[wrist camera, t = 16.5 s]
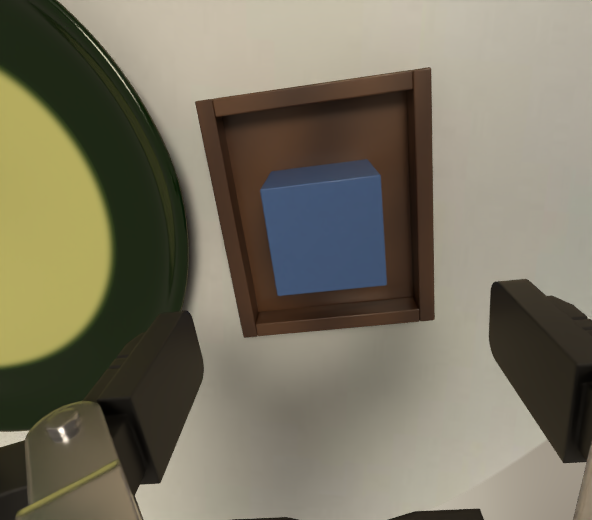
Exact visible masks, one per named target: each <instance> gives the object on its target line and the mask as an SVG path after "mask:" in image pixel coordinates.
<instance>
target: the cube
mask: <svg viewBox="0 0 592 520" xmlns="http://www.w3.org/2000/svg"><path fill="white" fill-rule="evenodd" d="M260 194H261V200H262V206H263V212H264V218H265V224H266V230H267V236H268V242H269V248H270V254H271V260H272V266H273V272H274V278H275V284H276V290H277V295H278V296H284V295H294V294H304V293H314V292H324V291H334V290H344V289H354V288H364V287H374V286H385V285H387V275H386V257H385V240H384V223H383V206H382V189H381V175H380V174H379V173H378V171H377V170H376V169H375V168H374V167H373V165H372V164H371V163H370V162H369V160H368V159H365V160H357V161H349V162H341V163H333V164H325V165H318V166H310V167H302V168H294V169H286V170H278V171H272V172H271V173H270V174H269V176H268V178H267V179H266V181H265V183H264V184H263V186H262V188H261V189H260Z"/></svg>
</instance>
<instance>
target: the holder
mask: <svg viewBox="0 0 592 520" xmlns="http://www.w3.org/2000/svg"><path fill="white" fill-rule="evenodd" d="M195 104H196V109H197V113H198V118H199V123H200V128H201V133H202V138H203V142H204V147H205V152H206V157H207V162H208V167H209V171H210V176H211V181H212V186H213V191H214V196H215V201H216V205H217V210H218V215H219V220H220V225H221V230H222V234H223V239H224V244H225V249H226V254H227V259H228V263H229V268H230V273H231V278H232V283H233V288H234V292H235V297H236V302H237V307H238V312H239V317H240V322H241V326H242V331H243V336H244V338H245V337H256V336H265V335H276V334H287V333H298V332H309V331H320V330H331V329H342V328H353V327H364V326H375V325H386V324H397V323H408V322H419V320H420V321H429V320H434V319H435V313H434V239H433V165H432V91H431V68H429V67H428V68H422V69H415V70H408V71H401V72H394V73H387V74H380V75H373V76H367V77H360V78H353V79H346V80H339V81H332V82H325V83H318V84H312V85H305V86H298V87H291V88H284V89H277V90H270V91H263V92H257V93H250V94H243V95H236V96H229V97H222V98H215V99H208V100H201V101H196V102H195ZM365 159H368V160H369V162H370V163H371V164H372V165H373V167H374V168H375V169H376V170H377V171H378V173H379V174H380V175H381V189H382V206H383V223H384V240H385V257H386V275H387V285H385V286H374V287H364V288H354V289H344V290H334V291H324V292H314V293H304V294H294V295H284V296H278V295H277V290H276V284H275V278H274V272H273V266H272V260H271V254H270V248H269V242H268V236H267V230H266V224H265V218H264V212H263V206H262V200H261V194H260V189H261V188H262V186H263V184H264V183H265V181H266V179H267V178H268V176H269V174H270V173H271V172H272V171H278V170H286V169H294V168H302V167H310V166H318V165H325V164H333V163H341V162H349V161H357V160H365Z"/></svg>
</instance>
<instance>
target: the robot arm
mask: <svg viewBox="0 0 592 520" xmlns="http://www.w3.org/2000/svg"><path fill="white" fill-rule="evenodd" d="M489 342H490V348H491V351H492V354H493V357H494V359H495V360H496V362H497V363H498V365H499V367H500V368H501V370H502V371H503V373H504V374H505V376H506V377H507V379H508V380H509V382H510V383H511V385H512V386H513V388H514V389H515V391H516V392H517V394H518V395H519V397H520V398H521V400H522V401H523V403H524V404H525V406H526V407H527V409H528V410H529V412H530V413H531V415H532V416H533V418H534V419H535V421H536V422H537V424H538V425H539V427H540V428H541V430H542V431H543V433H544V434H545V436H546V437H547V439H548V440H549V442H550V443H551V445H552V446H553V448H554V449H555V451H556V452H557V454H558V456H559V457H560V458H561V460H562V461H563V463H574V462H575V463H577V462H587V463H586V467H585V471H584V476H583V480H582V484H581V488H580V493H579V497H578V501H577V505H576V509H575V514H574V518H573V520H592V320H591V319H587V316H586V315H585V314H583V313H582V312H581V311H580V310H578V309H577V308H576V307H575V306H574V305H572V304H570V303H567V302H565V301H563V300H561V299H558V298H556V297H554V296H546V295H545V294H544V293H542V292H541V291H540V290H539V289H538V288H537V287H536V286H534V285H533V284H532V283H531V282H530V281H529V280H527V279H519V280H509V281H498V282H494V283H493V284H492V287H491V296H490V320H489ZM203 373H204V365H203V358H202V354H201V350H200V346H199V342H198V338H197V334H196V330H195V327H194V323H193V319H192V316H191V314H190V313H189V312H188V311H179V312H169V313H160V314H159V315H158V316H157V317H156V319H155V320H154V321H153V323H152V324H151V326H150V327H149V328H148V330H147V331H146V332H143V333H141V334H139V335H138V336H137V337H135V338H134V339H133V340H131V341H130V342H128V343H127V344H126V345H125V347H124V348H123V349H122V350H121V352H120V353H119V354H118V356H117V359H114V361H113V362H112V363H111V365H110V366H109V369H107V370H106V371H105V372H104V374H103V375H102V376H101V378H100V379H99V380H98V381H97V383H96V384H95V385H94V387H93V388H92V389H91V390H90V392H89V393H88V394H87V396H86V397H85V398H84V399H83V401H81V402H75V403H71V404H68V405H65V406H63V407H60V408H58V409H56V410H54V411H52V412H51V413H49V414H47V415H46V416H45V417H43V418H42V419H41V420H39V421H38V422H37V423H36V424H35V425H34V426H33V427H32V428H31V429H30V431H29V432H28V434H27V436H26V438H25V440H24V441H21V442H17V443H14V444H11V445H7V446H4V447H0V520H143V517H142V514H141V511H140V509H139V506H138V503H137V501H136V498H135V494H136V492H137V489H138V487H139V485H140V484H157V483H161V480H162V478H163V475H164V473H165V470H166V468H167V466H168V463H169V461H170V458H171V456H172V453H173V451H174V449H175V446H176V444H177V441H178V439H179V436H180V434H181V431H182V429H183V427H184V424H185V422H186V419H187V417H188V414H189V412H190V409H191V407H192V405H193V402H194V400H195V397H196V395H197V392H198V390H199V388H200V385H201V383H202V379H203ZM234 520H297V519H293V518H288V517H280V518H257V519H234ZM389 520H484V519H483V516H482V514H481V511H480V509H463V510H462V509H460V510H439V511H415V512H412V513H408V514H405V515H402V516H399V517H395V518H392V519H389Z"/></svg>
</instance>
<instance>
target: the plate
mask: <svg viewBox="0 0 592 520" xmlns="http://www.w3.org/2000/svg"><path fill="white" fill-rule="evenodd" d="M188 257H189V254H188V230H187V220H186V213H185V207H184V202H183V197H182V192H181V188H180V185H179V181H178V178H177V175H176V172H175V169H174V166H173V163H172V161H171V158H170V156H169V153H168V151H167V149H166V146H165V144H164V142H163V140H162V138H161V136H160V134H159V132H158V130H157V128H156V126H155V124H154V122H153V120H152V118H151V116H150V115H149V113H148V111H147V109H146V108H145V106H144V104H143V103H142V101H141V99H140V98H139V96H138V94H137V93H136V91H135V90H134V88H133V87H132V85H131V84H130V82H129V81H128V79H127V78H126V76H125V75H124V74H123V72H122V71H121V69H120V68H119V67H118V65H117V64H116V63H115V62H114V60H113V59H112V58H111V56H110V55H109V54H108V53H107V51H106V50H105V49H104V48H103V47H102V45H101V44H100V43H99V42H98V41H97V40H96V39H95V37H94V36H93V35H92V34H91V33H90V32H89V31H88V30H87V29H86V28H85V27H84V26H83V25H82V24H81V23H80V22H79V21H78V20H77V19H76V18H75V16H74V15H72V14H71V13H70V12H69V11H68V10H67V9H66V8H65V7H64V6H63V5H62V4H61V3H60V2H58V1H57V0H0V432H11V431H28V430H30V429H31V428H32V427H33V426H34V425H35V424H36V423H37V422H38V421H39V420H41V419H42V418H43V417H45V416H46V415H47V414H49V413H51V412H52V411H54V410H56V409H58V408H60V407H63V406H65V405H68V404H71V403H75V402H81V401H83V399H84V398H85V397H86V396H87V394H88V393H89V392H90V390H91V389H92V388H93V387H94V385H95V384H96V383H97V381H98V380H99V379H100V378H101V376H102V375H103V374H104V372H105V371H106V370H107V369H109V366H110V365H111V363H112V362H113V361H114V359H117V356H118V354H119V353H120V352H121V350H122V349H123V348H124V347H125V345H126V344H127V343H128V342H130V341H131V340H133V339H134V338H135V337H137V336H138V335H139V334H141V333H143V332H146V331H147V330H148V328H149V327H150V326H151V324H152V323H153V321H154V320H155V319H156V317H157V316H158V315H159V314H160V313H169V312H179V311H181V309H182V305H183V301H184V296H185V291H186V284H187V276H188Z"/></svg>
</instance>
